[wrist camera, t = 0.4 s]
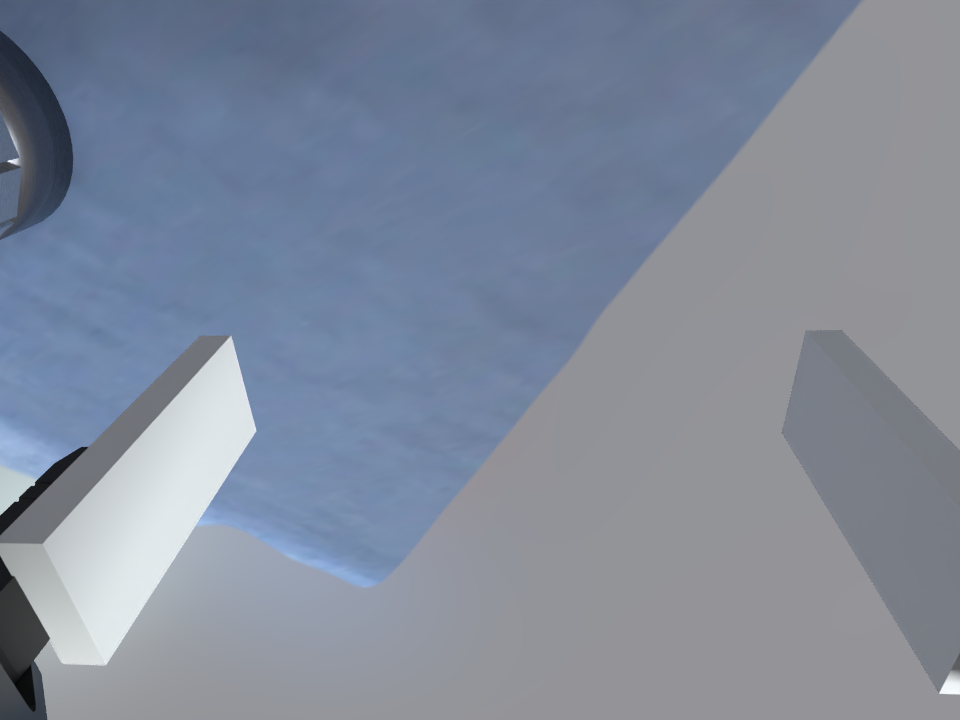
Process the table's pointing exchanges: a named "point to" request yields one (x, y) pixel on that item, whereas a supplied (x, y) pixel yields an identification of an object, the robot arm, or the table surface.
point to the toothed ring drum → (29, 143)
